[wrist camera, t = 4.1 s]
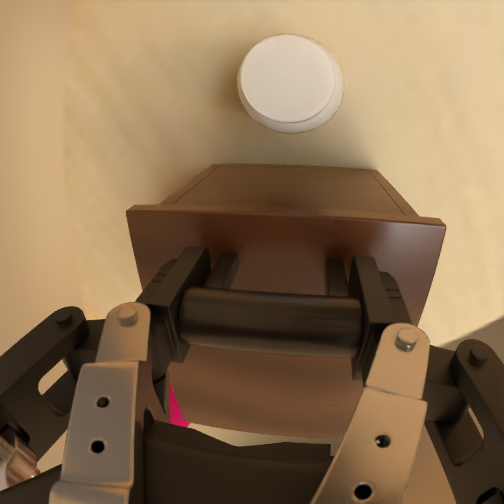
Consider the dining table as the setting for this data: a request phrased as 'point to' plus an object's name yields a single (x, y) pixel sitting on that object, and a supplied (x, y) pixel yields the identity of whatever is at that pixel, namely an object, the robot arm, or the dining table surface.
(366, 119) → the dining table surface
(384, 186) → the chest
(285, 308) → the lid
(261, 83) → the pill bottle
